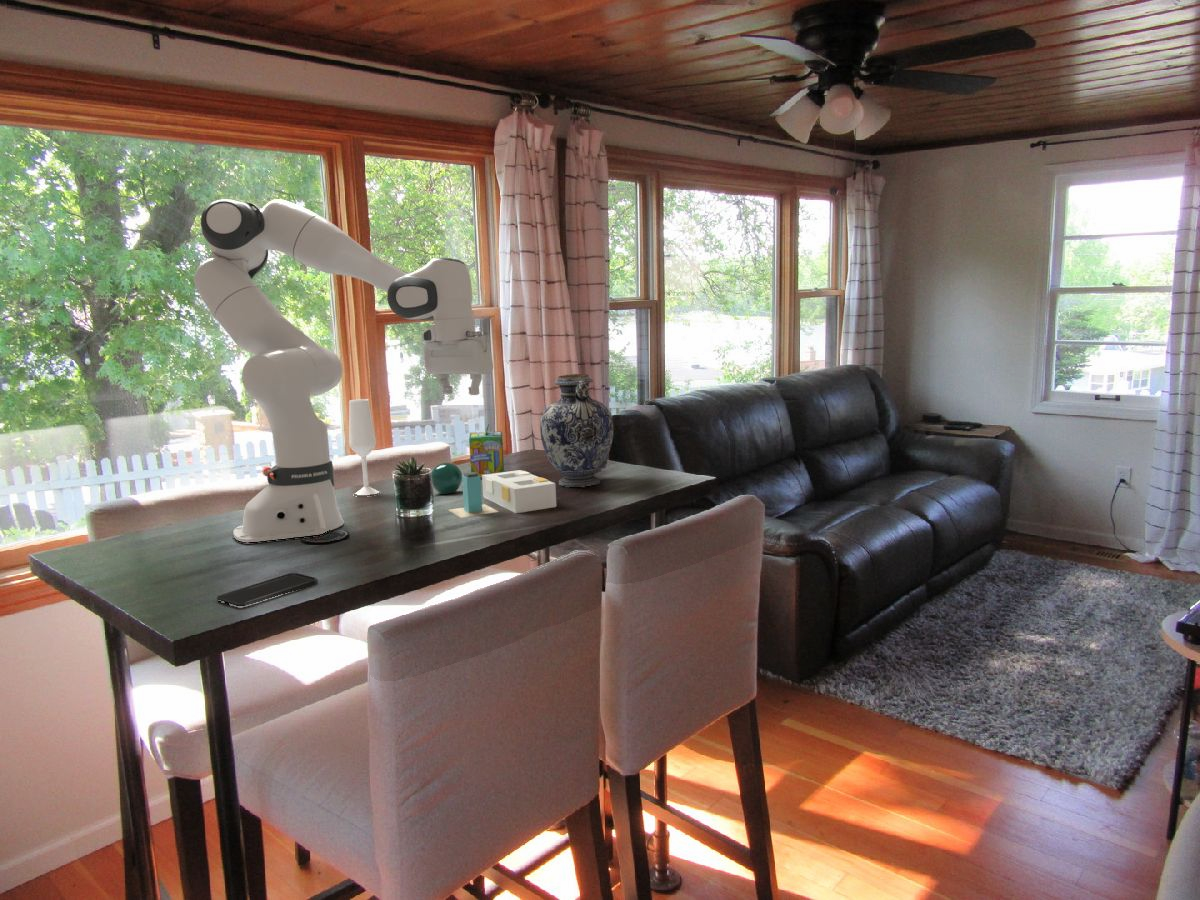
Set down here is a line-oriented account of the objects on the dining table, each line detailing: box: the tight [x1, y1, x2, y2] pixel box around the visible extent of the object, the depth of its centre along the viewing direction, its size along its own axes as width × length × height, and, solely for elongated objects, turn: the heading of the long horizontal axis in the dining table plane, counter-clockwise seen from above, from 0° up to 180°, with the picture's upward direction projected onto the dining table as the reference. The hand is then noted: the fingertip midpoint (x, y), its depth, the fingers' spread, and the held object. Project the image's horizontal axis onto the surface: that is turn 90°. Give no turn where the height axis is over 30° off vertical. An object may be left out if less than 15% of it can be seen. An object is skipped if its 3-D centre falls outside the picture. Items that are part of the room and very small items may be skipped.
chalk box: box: [468, 421, 505, 479], centre depth 239 cm, size 9×9×15 cm
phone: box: [216, 572, 319, 606], centre depth 147 cm, size 8×1×15 cm
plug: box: [461, 471, 483, 513], centre depth 196 cm, size 3×3×9 cm
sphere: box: [430, 461, 463, 495], centre depth 218 cm, size 8×8×8 cm
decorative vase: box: [539, 373, 614, 488], centre depth 222 cm, size 21×19×28 cm
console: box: [481, 469, 557, 514], centre depth 204 cm, size 10×20×6 cm, turn 28°
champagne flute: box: [348, 398, 380, 495], centre depth 220 cm, size 7×7×24 cm
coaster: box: [447, 503, 500, 519], centre depth 197 cm, size 9×9×1 cm
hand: (460, 394), depth 194 cm, fingers open, 8 cm apart
